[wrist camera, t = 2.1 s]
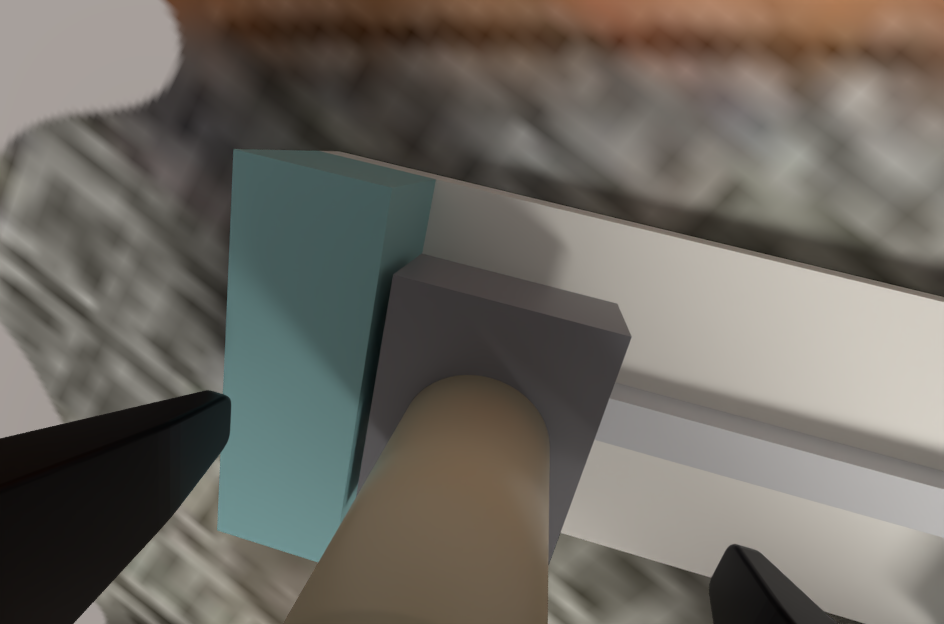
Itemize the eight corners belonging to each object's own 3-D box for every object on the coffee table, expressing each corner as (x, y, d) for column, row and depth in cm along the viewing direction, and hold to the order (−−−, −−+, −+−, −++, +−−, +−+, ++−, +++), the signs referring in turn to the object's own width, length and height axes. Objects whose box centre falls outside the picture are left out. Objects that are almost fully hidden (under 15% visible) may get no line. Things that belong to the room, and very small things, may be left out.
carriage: (544, 492, 13) (532, 940, 6) (393, 448, 14) (193, 813, 6) (611, 291, 11) (734, 570, 4) (432, 245, 11) (203, 413, 4)
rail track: (1041, 646, 14) (1253, 859, 10) (307, 430, 16) (217, 530, 12) (1284, 378, 11) (1746, 520, 7) (339, 151, 13) (233, 148, 9)
